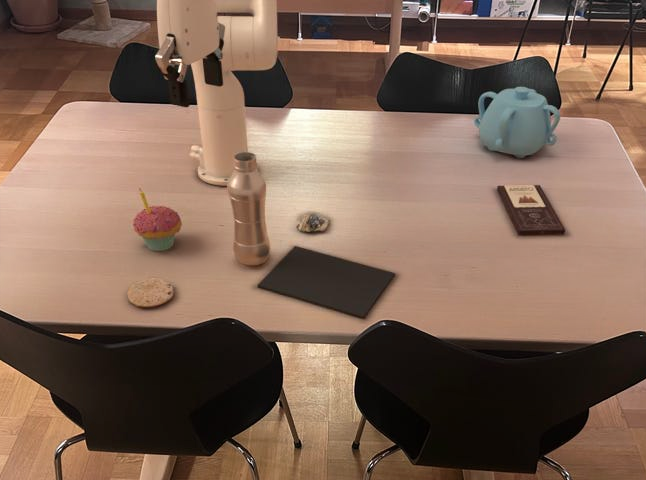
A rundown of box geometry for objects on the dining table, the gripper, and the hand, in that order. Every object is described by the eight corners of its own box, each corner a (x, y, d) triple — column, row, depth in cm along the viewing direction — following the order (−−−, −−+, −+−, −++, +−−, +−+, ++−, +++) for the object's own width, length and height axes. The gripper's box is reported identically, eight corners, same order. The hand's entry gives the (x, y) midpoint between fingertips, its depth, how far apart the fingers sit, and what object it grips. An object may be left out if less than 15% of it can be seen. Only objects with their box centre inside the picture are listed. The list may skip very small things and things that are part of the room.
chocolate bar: (519, 230, 137) (497, 185, 151) (518, 235, 138) (497, 189, 151) (565, 229, 138) (539, 185, 151) (564, 234, 138) (538, 189, 152)
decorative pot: (486, 164, 161) (496, 104, 152) (468, 133, 173) (476, 76, 164) (556, 161, 162) (570, 102, 153) (534, 131, 174) (546, 74, 165)
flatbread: (174, 306, 119) (173, 301, 119) (128, 311, 118) (126, 306, 118) (172, 278, 125) (171, 273, 125) (128, 283, 124) (127, 278, 124)
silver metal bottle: (265, 272, 128) (259, 167, 114) (229, 267, 129) (218, 163, 115) (275, 252, 132) (270, 150, 119) (240, 248, 133) (231, 146, 120)
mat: (257, 287, 124) (257, 285, 124) (295, 247, 134) (295, 245, 133) (363, 319, 118) (363, 316, 118) (395, 275, 127) (395, 272, 127)
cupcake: (144, 261, 130) (133, 201, 122) (131, 238, 135) (120, 180, 127) (190, 249, 133) (182, 190, 125) (175, 228, 138) (167, 170, 130)
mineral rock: (298, 236, 137) (297, 227, 135) (291, 215, 143) (291, 207, 141) (332, 233, 138) (333, 224, 136) (325, 212, 144) (325, 204, 142)
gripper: (195, -40, 110) (207, 74, 121) (125, -14, 98) (145, 109, 109) (237, -34, 108) (245, 81, 119) (172, -7, 96) (187, 118, 107)
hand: (197, 94), depth 114 cm, fingers open, 9 cm apart
